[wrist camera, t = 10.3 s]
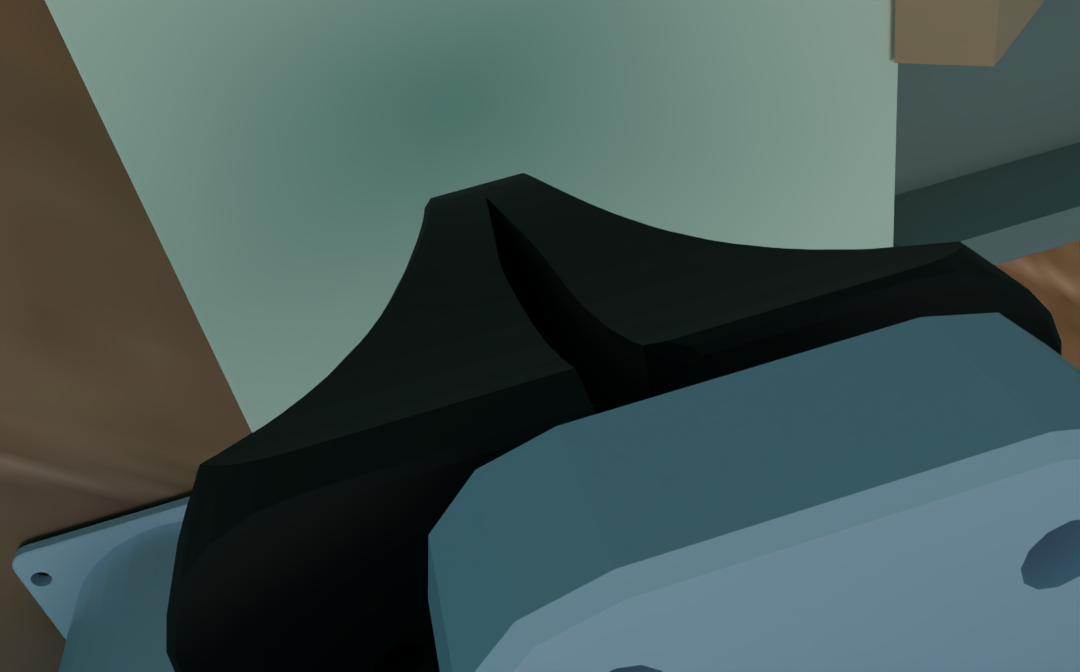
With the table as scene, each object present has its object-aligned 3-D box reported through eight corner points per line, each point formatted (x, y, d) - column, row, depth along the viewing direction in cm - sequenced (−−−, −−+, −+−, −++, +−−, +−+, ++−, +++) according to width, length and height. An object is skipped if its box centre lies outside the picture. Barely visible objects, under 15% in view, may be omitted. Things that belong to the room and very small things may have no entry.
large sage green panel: (833, 207, 25) (892, 255, 23) (260, 372, 24) (256, 443, 21) (824, -447, 18) (912, -482, 15) (-24, -257, 16) (-81, -261, 14)
